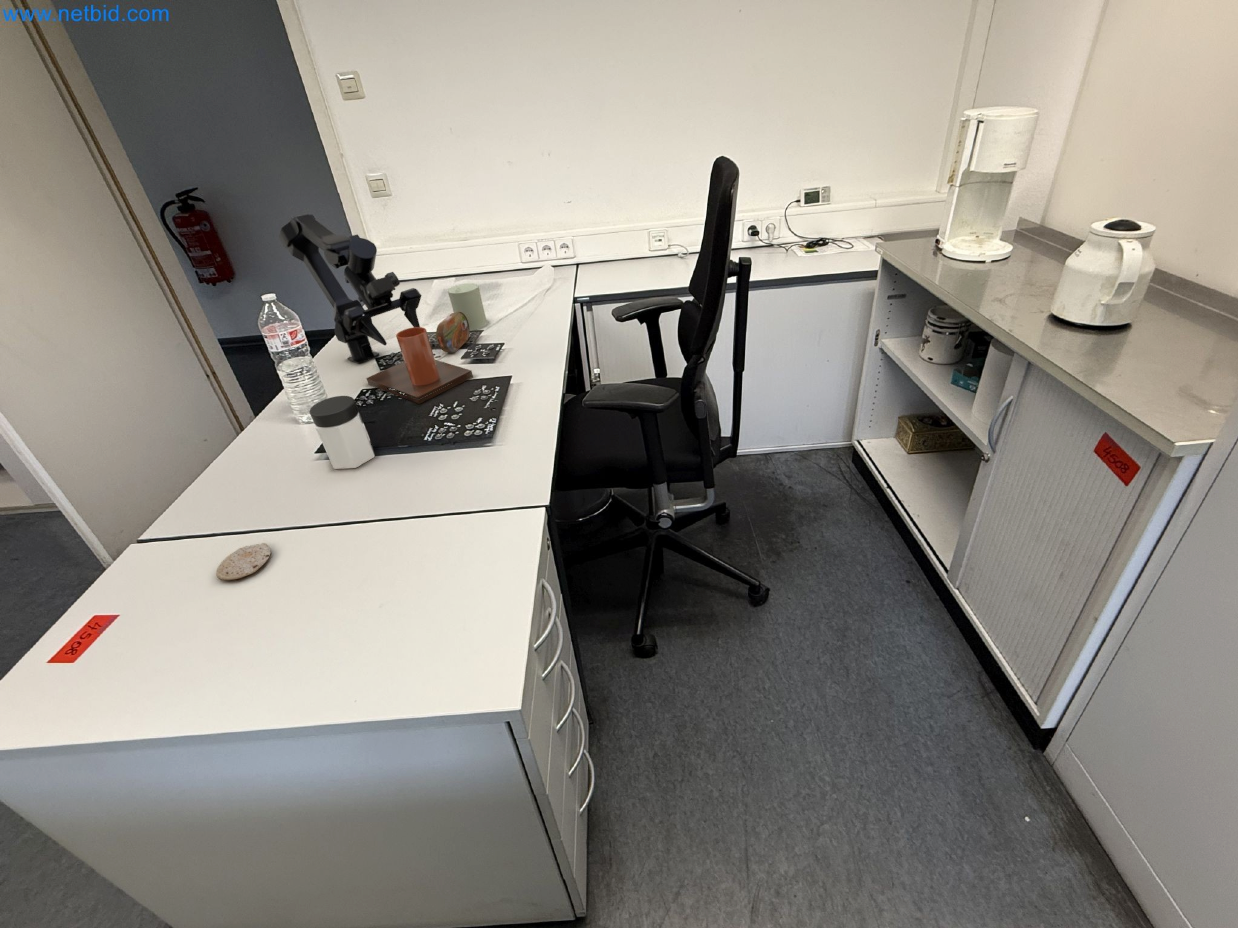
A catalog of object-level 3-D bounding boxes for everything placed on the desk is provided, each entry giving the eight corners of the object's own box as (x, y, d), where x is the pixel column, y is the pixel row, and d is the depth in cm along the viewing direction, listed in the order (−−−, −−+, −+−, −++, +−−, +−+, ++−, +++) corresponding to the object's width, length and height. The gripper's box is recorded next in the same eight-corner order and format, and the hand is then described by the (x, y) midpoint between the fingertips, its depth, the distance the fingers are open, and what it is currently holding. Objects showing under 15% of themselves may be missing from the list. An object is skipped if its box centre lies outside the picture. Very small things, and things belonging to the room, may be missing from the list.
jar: (377, 461, 114) (356, 408, 108) (334, 475, 112) (309, 421, 105) (372, 442, 121) (352, 390, 115) (331, 454, 119) (308, 402, 112)
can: (451, 330, 174) (440, 291, 168) (468, 319, 181) (458, 281, 175) (476, 332, 171) (466, 291, 164) (493, 321, 178) (484, 281, 171)
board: (368, 384, 147) (366, 378, 146) (420, 361, 157) (419, 354, 156) (419, 404, 134) (417, 397, 133) (473, 377, 144) (471, 370, 143)
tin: (450, 357, 157) (442, 327, 152) (440, 357, 157) (431, 327, 153) (473, 335, 169) (465, 307, 164) (463, 336, 169) (455, 307, 165)
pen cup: (406, 385, 139) (390, 338, 133) (419, 373, 145) (405, 327, 138) (431, 385, 138) (417, 337, 131) (444, 373, 143) (430, 326, 137)
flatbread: (248, 583, 88) (245, 578, 87) (206, 580, 89) (203, 575, 89) (283, 547, 94) (280, 542, 94) (243, 544, 96) (240, 540, 95)
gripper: (330, 275, 127) (370, 332, 127) (405, 253, 138) (443, 306, 138) (328, 304, 137) (365, 358, 136) (399, 282, 147) (434, 332, 147)
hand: (403, 337), depth 139 cm, fingers open, 9 cm apart
